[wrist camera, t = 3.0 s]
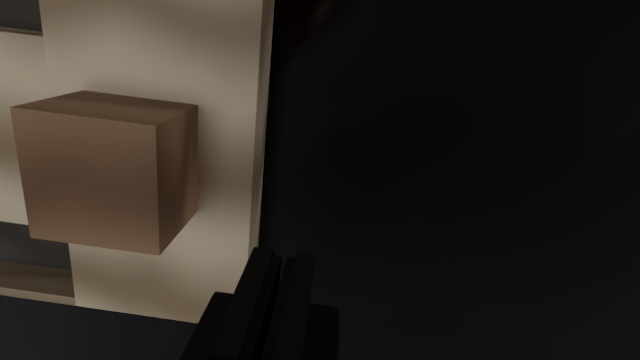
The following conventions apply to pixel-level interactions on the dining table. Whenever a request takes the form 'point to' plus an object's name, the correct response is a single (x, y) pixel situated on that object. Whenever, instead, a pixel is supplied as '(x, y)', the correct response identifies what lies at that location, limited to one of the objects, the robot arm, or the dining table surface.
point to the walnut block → (108, 169)
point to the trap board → (153, 83)
